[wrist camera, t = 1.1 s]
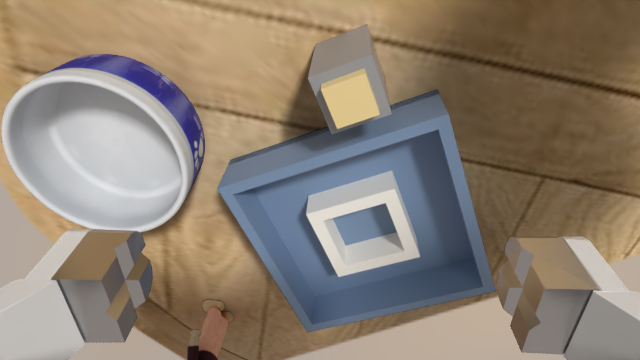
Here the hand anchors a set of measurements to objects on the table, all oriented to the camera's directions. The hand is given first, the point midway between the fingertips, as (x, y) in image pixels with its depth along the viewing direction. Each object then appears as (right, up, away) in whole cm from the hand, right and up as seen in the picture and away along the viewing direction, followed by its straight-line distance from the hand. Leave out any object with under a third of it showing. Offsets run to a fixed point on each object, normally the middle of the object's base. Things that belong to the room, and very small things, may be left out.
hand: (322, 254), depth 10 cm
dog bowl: (-18, +6, +31) cm, 37 cm away
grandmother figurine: (-13, -15, +44) cm, 48 cm away
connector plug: (+2, +12, +26) cm, 28 cm away
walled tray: (+4, -1, +34) cm, 34 cm away
